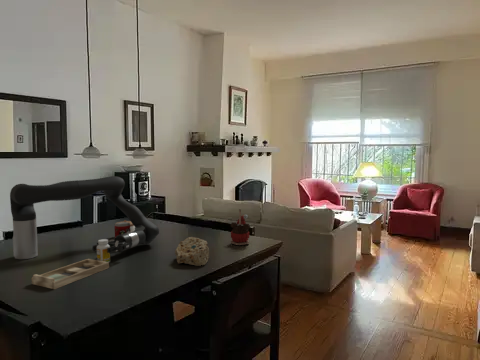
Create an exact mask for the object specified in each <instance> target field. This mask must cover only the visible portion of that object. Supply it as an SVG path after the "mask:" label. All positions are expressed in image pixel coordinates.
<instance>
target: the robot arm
mask: <svg viewBox="0 0 480 360" xmlns="http://www.w3.org/2000/svg"><path fill="white" fill-rule="evenodd" d="M125 185H126V182H125V179H123V177H120V176H116V175H115V176H114V175H112V176H105V177H100V178H93V179H92V178H89V179H81V180H80V179H79V180H67V181H60V182H59V181H58V182H55V183H52V184H48V185H47V184H45V185H42V184H41V185H40V184H39V185H38V184H37V185H36V184H34V185H32V184H26V183H18V184H15V185H14V186H13V187H12V188H11V189H10V192H9V199H10V201H9V202H10V212H11V216H12V230H13V231H12V232H13V236H12V250H13V252H12V253H13V258H14V259H15V260H27V259H29V260H30V259H33V258H36V257H38V255H39V253H38V252H39V251H38V229H37V227H38V226H37V213H36V210H35V207H34V204H38V203H39V204H40V203H42V202H52V201H54V202H57V201H58V202H59V201H71V200H72V201H74V200H75V201H76V200H81V199H85V198H87V197H89V196H92V195H93V194H95V193H98V192H103V194H104V195H105V196H106V198H108V199H109V201H110V202H112V203H113V204H114V205H115V206H116V207H117V208H118V209H119V210H120V211H121V212H122V213H123V214H124V216H126V217H127V219H128V221H131V222H132V224H133V225H134V226H135V231H133V232H128V233H124V234H121V235H118V236H116V237H115V236H114V239H110V240H108V243H107V244H108V245H109V246H110V247H109V248H107V253H110V254H111V253H113V252H119V253H120V252H124V251H127V250H129V249H132V248H135V247H136V246H137V247H138V246H139V245H148V244H150V243H152V242H153V241H154V240H155V239H156V238H157V236H158V235H159V234H160V229H159V227H158V225H156V224H155V223H154V222H152V221H151V220H150V219H148V218H147V217H146V216H145V215H144V213H143V212H142V211H141V209H139V208H138V207H137V206H136V205H134V204H132V203H130V202H128V201H127V200H126V199H125V198H124V197H123V195H122V193H123V190H124V188H125ZM142 227H144V229H143V230H140V228H142ZM136 229H138V230H136ZM98 245H99V244H98V241H97V242H96V244H94V245H92V252H93V251H97V246H98Z"/></svg>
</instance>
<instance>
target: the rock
mask: <svg viewBox="0 0 480 360" xmlns="http://www.w3.org/2000/svg"><path fill="white" fill-rule="evenodd" d="M207 241H208V240H205V239H201V238H199V237H194V236H190V237H187V238H185V239H184V240H183V241H182V240H180V242H179V243H178V245H177V248H175V250H174V255H175V256H176V258H175V259H176V261H177V264H182V263H184V264H188V265H189V266H191V265H192V266H197V267H198V266H199V267H202V266H205V265H206V264H207V262H208V261H209V259H210V248H209V246H208V244H209V243H208V242H207ZM201 265H202V266H201Z"/></svg>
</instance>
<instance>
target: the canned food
mask: <svg viewBox="0 0 480 360" xmlns="http://www.w3.org/2000/svg"><path fill="white" fill-rule="evenodd" d="M119 222H120V223H117V222H115V223H116V224H115V223H114V238H115V237H116V236H118V235H121V234H124V233H128V232H130V223H128V222H123V221H119Z"/></svg>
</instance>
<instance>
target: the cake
mask: <svg viewBox="0 0 480 360" xmlns="http://www.w3.org/2000/svg"><path fill="white" fill-rule="evenodd" d="M238 211H239V213H238V219H237V221H236V222H235V221H232V222H231V223H230V227H231V228H232V229H231V231H230V238H231V240H230V243H231V244H232V245H237V246H244V245H248V244H250V240H249V239H250V231H249V229H251V225H250V224H249V223H247V222H246V219H248V218H249V216H248V214H243V215H242V209H241V208H239V209H238Z"/></svg>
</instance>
